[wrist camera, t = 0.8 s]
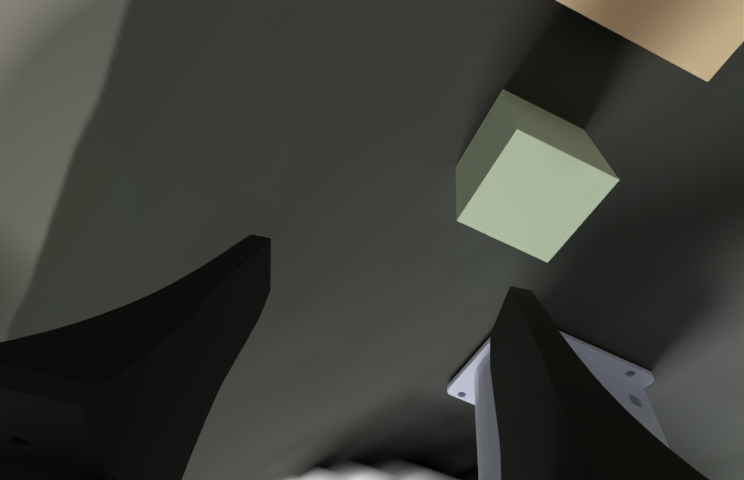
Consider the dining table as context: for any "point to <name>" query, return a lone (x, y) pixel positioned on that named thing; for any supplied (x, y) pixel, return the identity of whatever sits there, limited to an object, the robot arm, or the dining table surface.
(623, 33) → the oak block
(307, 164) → the dining table surface
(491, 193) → the sage cube
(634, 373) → the robot arm
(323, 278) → the dining table surface
